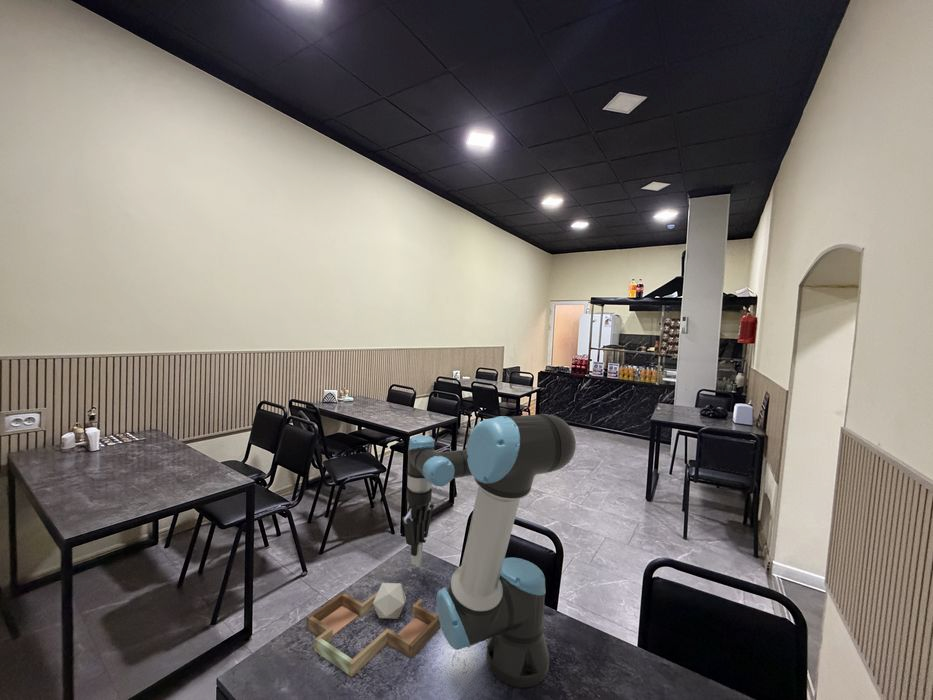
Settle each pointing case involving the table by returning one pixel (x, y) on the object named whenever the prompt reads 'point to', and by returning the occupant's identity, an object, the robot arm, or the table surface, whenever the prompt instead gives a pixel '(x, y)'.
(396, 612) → the die
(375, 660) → the table surface
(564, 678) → the table surface
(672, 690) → the table surface
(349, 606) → the channel
